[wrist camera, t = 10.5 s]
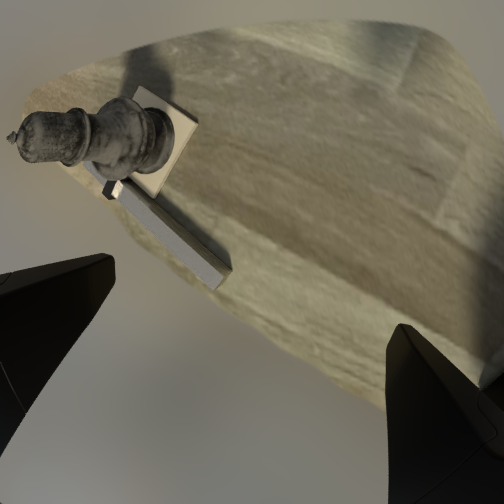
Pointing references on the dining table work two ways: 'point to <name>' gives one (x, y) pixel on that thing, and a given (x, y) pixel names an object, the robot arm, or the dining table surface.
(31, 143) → the dark grey tiered figure
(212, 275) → the white rectangular bar
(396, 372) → the robot arm
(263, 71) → the dining table surface
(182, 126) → the groove pad
